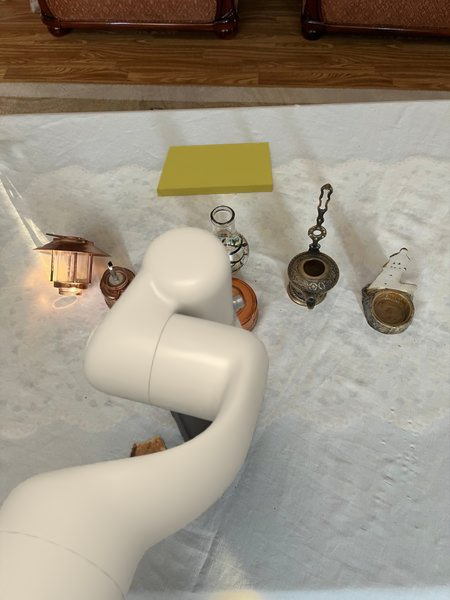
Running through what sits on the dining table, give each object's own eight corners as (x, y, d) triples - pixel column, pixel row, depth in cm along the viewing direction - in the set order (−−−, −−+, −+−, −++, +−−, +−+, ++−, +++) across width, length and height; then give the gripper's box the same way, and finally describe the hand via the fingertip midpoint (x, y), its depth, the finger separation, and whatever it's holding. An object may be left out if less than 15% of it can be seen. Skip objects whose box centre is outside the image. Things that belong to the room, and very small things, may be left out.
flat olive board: (268, 149, 116) (160, 154, 116) (268, 142, 114) (158, 146, 114) (272, 191, 110) (158, 196, 110) (272, 184, 108) (156, 189, 108)
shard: (116, 511, 80) (114, 509, 78) (97, 466, 83) (94, 464, 82) (180, 474, 82) (178, 472, 81) (158, 432, 86) (157, 429, 84)
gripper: (248, 264, 56) (248, 337, 72) (108, 328, 53) (140, 389, 69) (284, 319, 53) (275, 383, 69) (137, 391, 50) (163, 440, 66)
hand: (207, 385), depth 69 cm, fingers closed
